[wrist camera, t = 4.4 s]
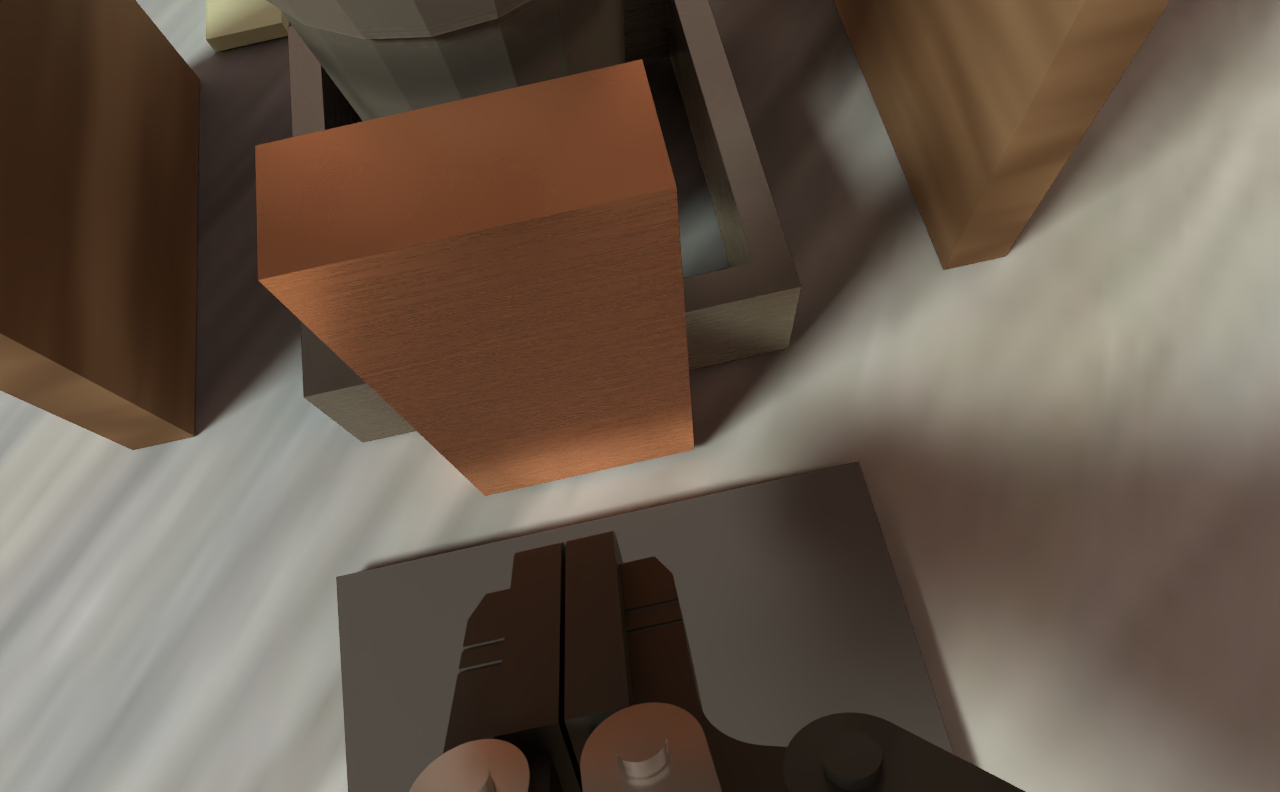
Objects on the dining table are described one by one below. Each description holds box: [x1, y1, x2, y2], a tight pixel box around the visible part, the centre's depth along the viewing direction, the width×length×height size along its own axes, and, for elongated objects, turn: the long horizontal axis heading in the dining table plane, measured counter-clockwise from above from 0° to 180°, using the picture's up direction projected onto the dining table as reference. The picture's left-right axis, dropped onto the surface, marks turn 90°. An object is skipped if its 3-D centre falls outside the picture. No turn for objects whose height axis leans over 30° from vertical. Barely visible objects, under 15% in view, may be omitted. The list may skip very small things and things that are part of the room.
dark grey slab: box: [336, 461, 954, 792], centre depth 16 cm, size 12×10×1 cm
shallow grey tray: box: [255, 0, 801, 496], centre depth 16 cm, size 11×13×10 cm
